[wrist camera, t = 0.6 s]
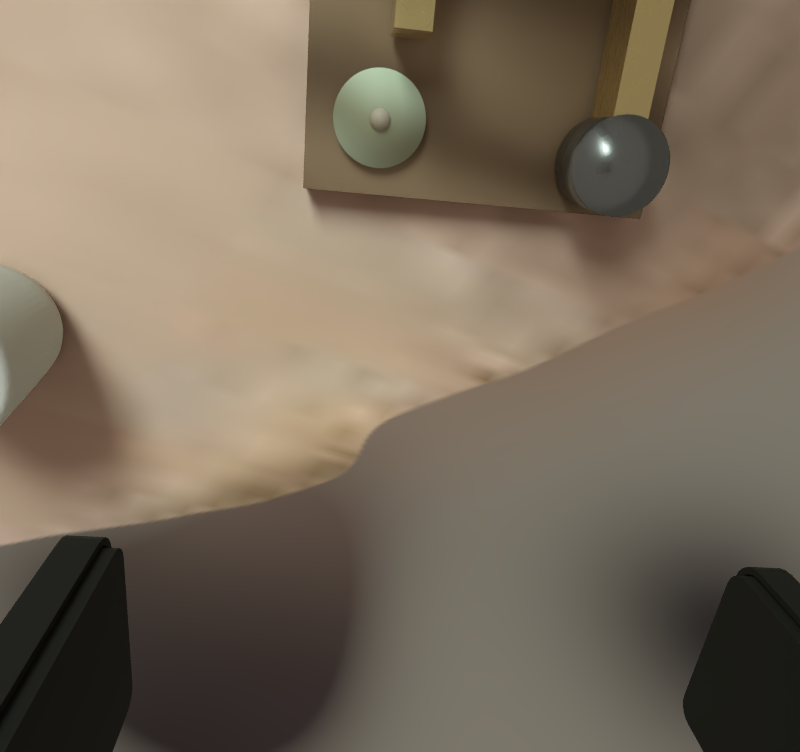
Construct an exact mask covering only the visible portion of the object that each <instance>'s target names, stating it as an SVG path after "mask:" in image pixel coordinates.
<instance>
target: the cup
mask: <svg viewBox="0 0 800 752" xmlns="http://www.w3.org/2000/svg"><path fill="white" fill-rule="evenodd" d="M62 341H63V325H62V320H61V317H60V314H59V311H58V309H57V307H56V305H55V303H54V301H53V300H52V298H51V297H50V296H49V294H48V293H47V292H46V291H45V290H44V289H43V288H42V287H41V286H40V285H39V284H38V283H37V282H35V281H34V280H33V279H31V278H30V277H28V276H27V275H25V274H23V273H21V272H19V271H17V270H15V269H12V268H9V267H6V266H2V265H0V426H1V425H2V424H3V423H4V421H5V420H6V419H7V418H8V417H9V416H10V415H11V413H12V412H13V411H14V410H15V409H16V408H17V407H18V405H19V404H20V403H21V402H22V401H23V400H24V398H25V397H26V396H27V395H28V394H29V393H30V392H31V390H32V389H33V388H34V387H35V386H36V385H37V384H38V382H39V381H40V380H41V379H42V378H43V377H44V375H45V374H46V373H47V372H48V371H49V369H50V368H51V367H52V365H53V364H54V362H55V360H56V359H57V357H58V355H59V352H60V349H61V346H62Z"/></svg>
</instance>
